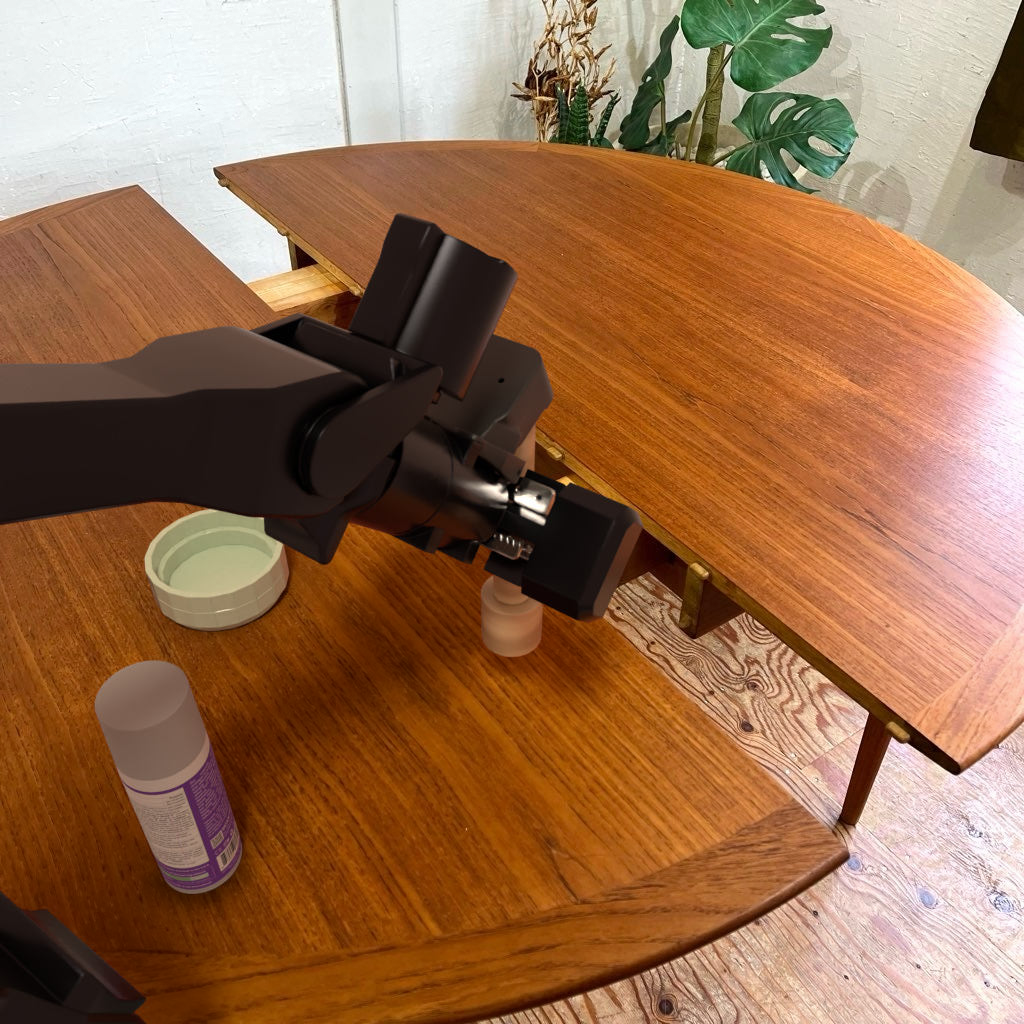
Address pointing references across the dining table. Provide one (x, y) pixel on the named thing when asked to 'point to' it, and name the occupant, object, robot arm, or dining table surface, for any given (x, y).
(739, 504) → the dining table surface
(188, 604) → the bowl
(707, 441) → the dining table surface
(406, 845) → the dining table surface
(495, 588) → the pestle
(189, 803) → the container
